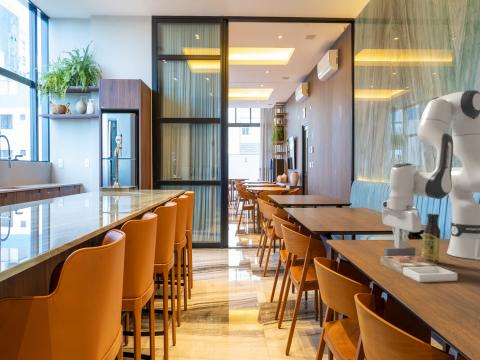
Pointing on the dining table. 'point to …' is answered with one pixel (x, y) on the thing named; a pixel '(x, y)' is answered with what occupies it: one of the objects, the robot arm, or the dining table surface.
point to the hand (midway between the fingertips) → (400, 239)
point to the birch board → (398, 266)
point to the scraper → (399, 246)
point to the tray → (429, 274)
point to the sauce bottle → (431, 239)
